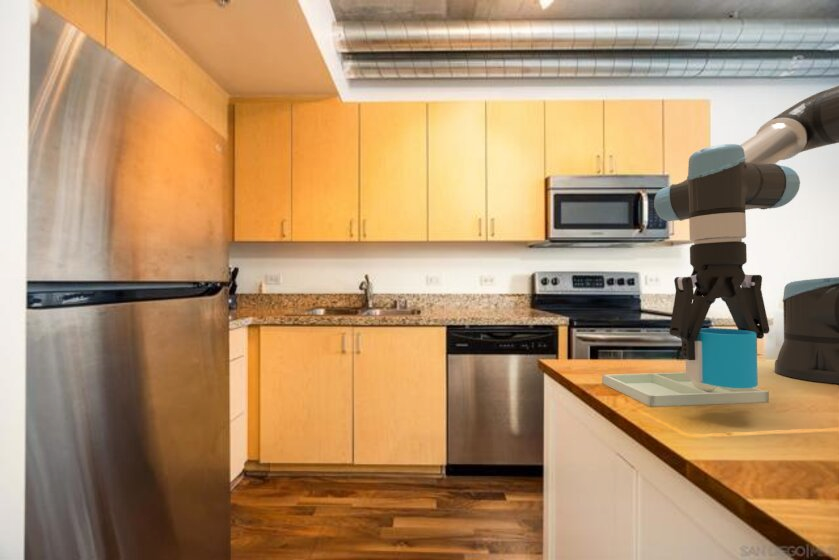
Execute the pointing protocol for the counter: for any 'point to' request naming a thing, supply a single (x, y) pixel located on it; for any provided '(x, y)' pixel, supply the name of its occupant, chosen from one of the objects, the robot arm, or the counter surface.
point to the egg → (703, 386)
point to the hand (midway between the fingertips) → (720, 377)
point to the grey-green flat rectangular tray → (678, 390)
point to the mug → (729, 357)
